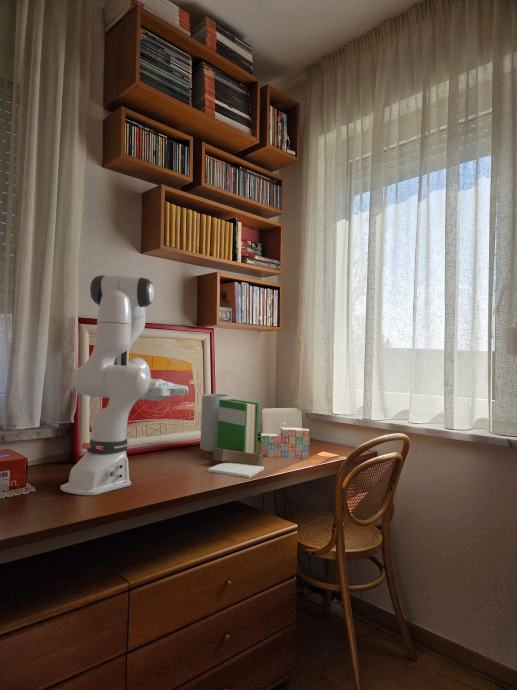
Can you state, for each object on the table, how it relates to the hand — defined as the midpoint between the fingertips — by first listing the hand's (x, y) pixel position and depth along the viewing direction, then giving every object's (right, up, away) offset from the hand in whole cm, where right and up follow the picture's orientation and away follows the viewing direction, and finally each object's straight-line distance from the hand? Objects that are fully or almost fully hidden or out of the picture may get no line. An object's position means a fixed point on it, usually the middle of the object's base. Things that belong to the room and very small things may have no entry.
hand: (186, 392), depth 184 cm
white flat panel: (+21, -29, -10) cm, 37 cm away
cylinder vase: (+9, -29, +27) cm, 41 cm away
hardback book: (+20, -29, +12) cm, 38 cm away
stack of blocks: (+40, -31, +19) cm, 54 cm away
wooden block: (+12, -25, +1) cm, 28 cm away
